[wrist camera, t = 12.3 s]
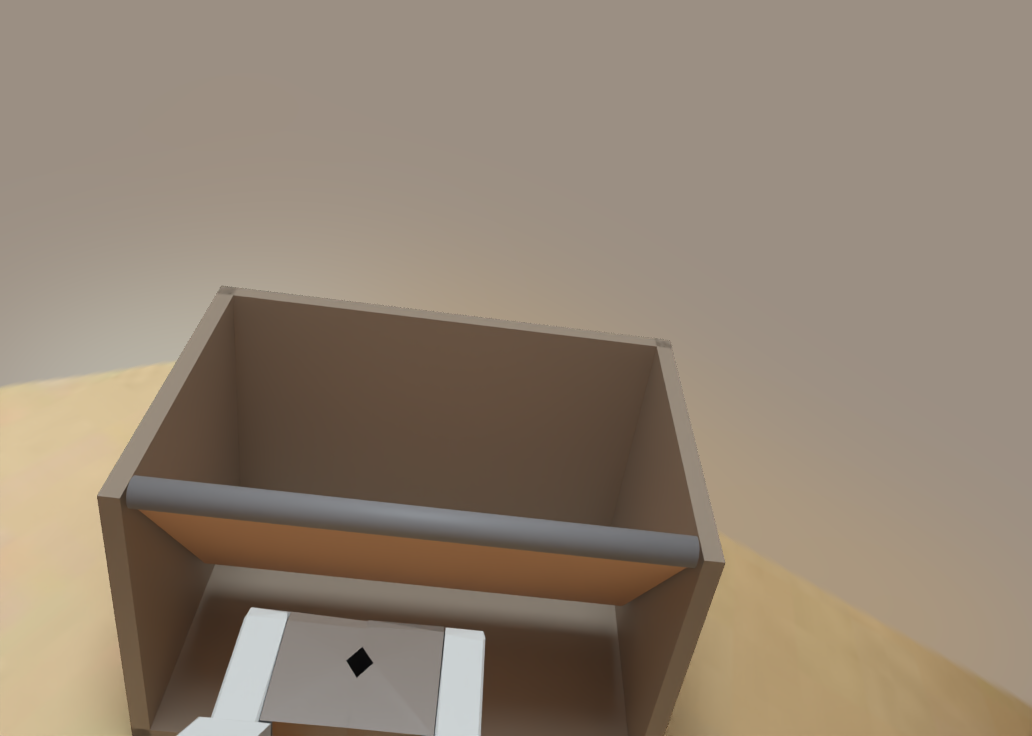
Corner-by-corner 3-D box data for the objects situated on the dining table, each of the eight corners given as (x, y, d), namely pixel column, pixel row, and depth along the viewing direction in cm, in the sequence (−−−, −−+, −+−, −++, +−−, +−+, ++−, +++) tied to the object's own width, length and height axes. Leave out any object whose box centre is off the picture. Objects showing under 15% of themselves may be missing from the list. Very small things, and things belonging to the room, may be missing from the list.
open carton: (618, 537, 56) (670, 340, 48) (646, 783, 42) (725, 562, 35) (230, 496, 54) (221, 285, 46) (132, 736, 41) (96, 495, 33)
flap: (623, 586, 47) (699, 533, 34) (622, 610, 47) (699, 565, 34) (209, 543, 46) (131, 471, 33) (204, 567, 45) (123, 504, 33)
